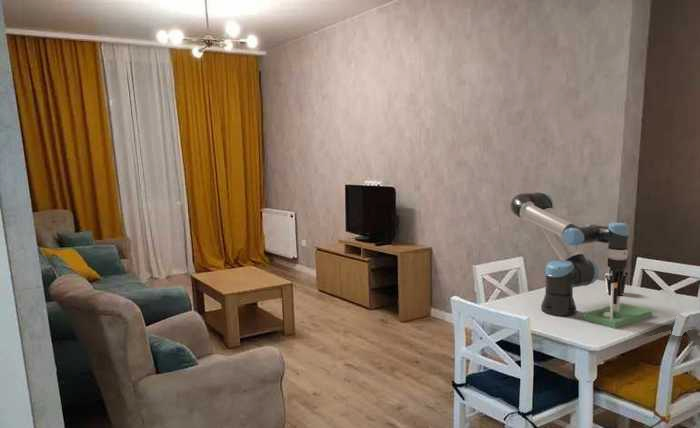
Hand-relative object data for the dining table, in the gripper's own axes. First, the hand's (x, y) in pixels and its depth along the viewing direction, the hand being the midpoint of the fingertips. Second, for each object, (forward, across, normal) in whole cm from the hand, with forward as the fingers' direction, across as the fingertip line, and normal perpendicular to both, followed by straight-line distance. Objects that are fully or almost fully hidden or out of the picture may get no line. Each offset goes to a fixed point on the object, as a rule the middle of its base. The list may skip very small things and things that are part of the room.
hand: (615, 310), depth 209 cm
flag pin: (+1, -9, -4) cm, 10 cm away
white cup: (+4, +38, +24) cm, 44 cm away
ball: (+2, -6, 0) cm, 6 cm away
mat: (+4, +2, 0) cm, 4 cm away
